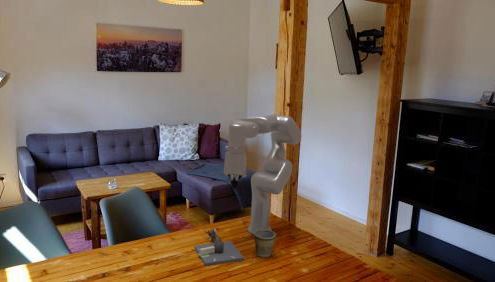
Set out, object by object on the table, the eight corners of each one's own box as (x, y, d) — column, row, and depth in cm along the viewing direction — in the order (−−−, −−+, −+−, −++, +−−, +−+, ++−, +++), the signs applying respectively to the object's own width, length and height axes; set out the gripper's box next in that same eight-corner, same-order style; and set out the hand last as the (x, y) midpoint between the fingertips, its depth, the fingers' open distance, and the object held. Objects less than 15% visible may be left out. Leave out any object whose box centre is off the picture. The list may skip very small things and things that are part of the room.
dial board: (192, 248, 192) (192, 245, 192) (230, 243, 199) (230, 240, 199) (203, 266, 176) (203, 263, 176) (243, 259, 183) (244, 257, 183)
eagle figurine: (200, 237, 201) (208, 241, 194) (206, 224, 203) (215, 227, 196) (212, 243, 205) (221, 247, 197) (218, 230, 207) (227, 233, 199)
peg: (220, 248, 190) (221, 240, 190) (225, 252, 187) (225, 244, 186) (198, 253, 185) (198, 244, 184) (202, 257, 181) (202, 248, 180)
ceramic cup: (271, 260, 183) (272, 239, 182) (250, 256, 187) (251, 235, 185) (278, 248, 196) (279, 229, 194) (258, 245, 199) (259, 225, 197)
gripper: (218, 149, 186) (217, 188, 189) (250, 152, 182) (248, 192, 186) (222, 146, 193) (221, 184, 196) (253, 149, 190) (251, 187, 193)
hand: (234, 187), depth 191 cm, fingers closed
